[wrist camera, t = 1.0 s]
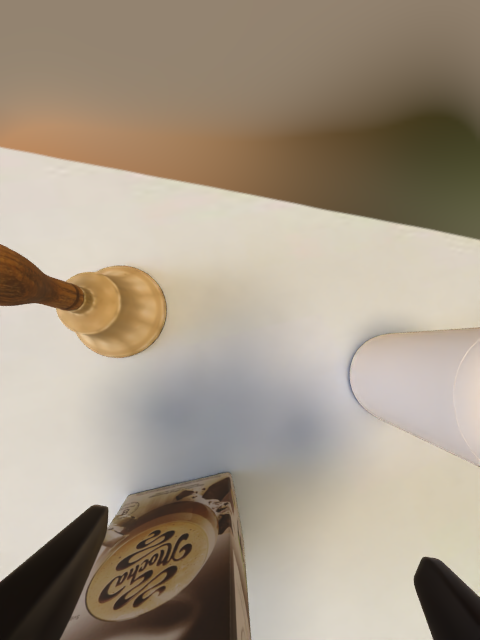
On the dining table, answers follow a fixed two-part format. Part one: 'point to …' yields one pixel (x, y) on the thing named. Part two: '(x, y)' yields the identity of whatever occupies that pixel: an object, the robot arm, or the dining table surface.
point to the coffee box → (169, 569)
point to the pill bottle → (424, 386)
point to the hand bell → (91, 303)
